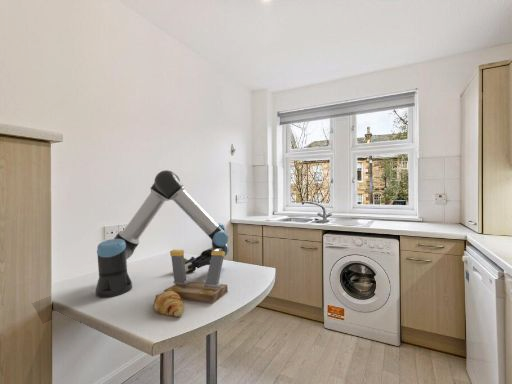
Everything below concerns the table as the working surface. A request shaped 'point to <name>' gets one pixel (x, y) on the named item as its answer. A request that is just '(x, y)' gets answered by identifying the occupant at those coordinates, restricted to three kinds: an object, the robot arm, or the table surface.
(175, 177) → the robot arm
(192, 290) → the wooden base board
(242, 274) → the table surface
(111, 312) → the table surface
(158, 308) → the croissant
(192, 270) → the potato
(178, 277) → the lever
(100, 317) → the table surface
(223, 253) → the lever
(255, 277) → the table surface
